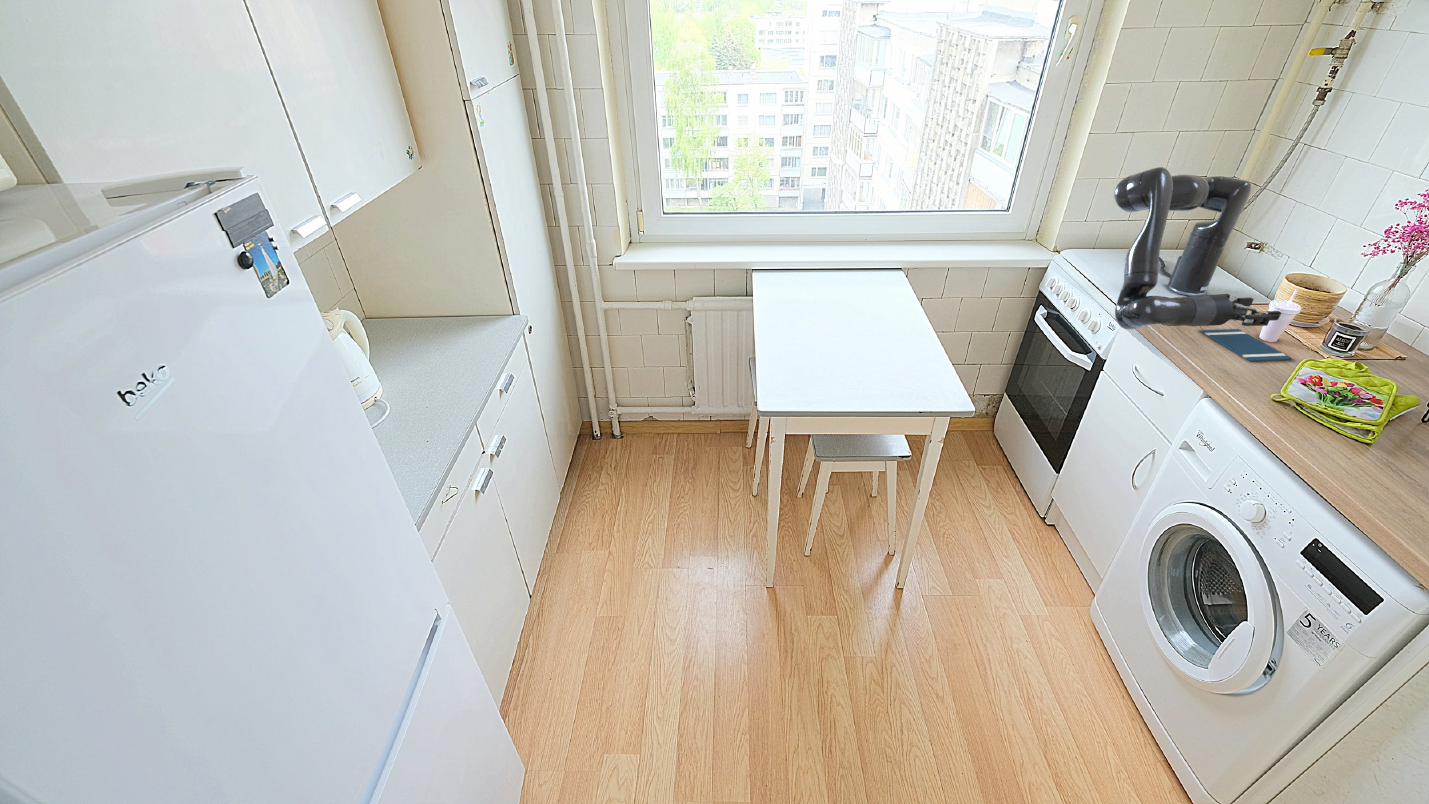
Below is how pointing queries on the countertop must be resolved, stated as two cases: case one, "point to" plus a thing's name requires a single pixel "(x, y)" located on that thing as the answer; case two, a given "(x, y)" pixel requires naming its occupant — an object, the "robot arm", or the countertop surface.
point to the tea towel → (1245, 345)
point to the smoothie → (1280, 318)
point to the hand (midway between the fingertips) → (1264, 308)
